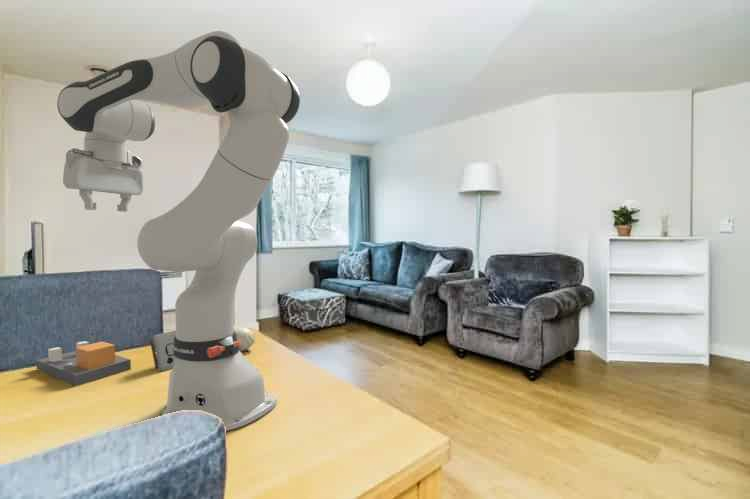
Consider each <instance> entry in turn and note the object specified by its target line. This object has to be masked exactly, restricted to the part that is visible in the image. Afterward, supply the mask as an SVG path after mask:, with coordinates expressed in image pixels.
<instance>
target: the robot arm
mask: <svg viewBox="0 0 750 499" xmlns="http://www.w3.org/2000/svg"><path fill="white" fill-rule="evenodd" d="M57 98H58V99H57V103H56V105H57V111H58V113H59V115H60V117H61V118H62V119H63V121H64V122H66V124H67V125H68V126H69V127H71V129H72V130H74V131H75V132H85V135H84V138H83V146H84V147H83V149H84V150H83V149H80V148H77V147H73V148H72V149H69V150H67V152H65V162H64V166H63V172H62V173H63V175H62V182H63V183H62V184H63V185H64V187H65V188H66V189H71V190H79V196H80V198H81V200H82V201H83V203H84V204H83V205H84V206H83V207H84V210H87V211H88V210H89V211H96V209H97V202H94V201H93V198H92V196H93V192H97V193H98V192H99V193H107V194H117V195H119V198H120V199H121V201H120V202H119V204H117V205H116V208H117V209H116V210H117V211H118V212H124V213H126V212H128V206H129V203H130V202H131V199H132V196H141V195H142V194H143V192H144V172H143V171H142V169H141V168H143V167H144V161H143V159H141V158H140V157H138V155H137V156H136V155H135V154H134V153H132V152H131V151H130V150H128V142H127V141H132V142H144V141H146V140H148V139H149V138H150V137H151V136H152V135H153V134H154V133H155V128H156V119H155V116H154V112H153V111H152V109H151V107H150V106H149V105H148V104H145V103H144V102H142V101H143V100H145V101H151V102H157V103H158V102H159V103H162V104H167V105H171V106H176V107H180V108H188V109H189V108H190V109H193V108H198V107H202V106H206V105H209V104H210V105H211V107H212V108H213V110H214V111H215V112H216V113H227V115H228V119H229V126H228V128H227V129H228V130H227V131H226V133H225V136H224V137H223V139H222V141H221V143H220V145H219V147H218V149H217V150H216V152H215V154H214V156H213V159H212V160H211V161H210V162H211V163H210V164H209V166H208V168H207V169H206V171H205V173H204V174H203V177H202V179H201V180H200V181H199V183H198V184H197V185H196V186H195V188H194V189H192V191H191V192H190V193H189V194H188V195H186V197H184V199H183V200H182V201H180V202H179V203H177V204H176V205H175V206H174V207H172V208H171V209H170V210H168V211H167V212H164V213H163V214H161V215H158V216H156V217H154V218H152V219H150V220H148V221H146V222H145V223H144V225H143V226H142V227H141V229H140V231H139V233H138V236H137V241H136V243H137V251H138V254H139V256H140V258H141V260H142V261H143V262H144V263H145V265H146V266H147V267H149V268H150V269H152V270H154V271H155V270H157V271H164V272H171V273H172V272H173V273H183V272H191V271H195V273H194V277H193V278H192V281H191V283H190V284H189V285H188V286H187V287H186V289H185V290H183V291H182V292H181V293H179V295H178V296H177V298H176V301H175V305H174V306H175V330H176V336H175V337H174V343H173V349H174V356H175V357H176V359H175V363H174V366H173V368H171V371H170V372H169V377H168V378H169V379H168V391H167V403H166V407H165V409H164V410H163V411H162V414H161V416H162V415H164V414H168V413H172V412H176V411H181V410H202V411H205V412H208V413H211V414H214V415H216V416H218V417H220V418H221V419H222V421H223V422H224V425H225V427H226V431H225V432H227V431H232V430H234V429H238V428H241V427H244V426H246V425H249V423H252V422H254V421H256V420H257V419H259V418H261V417H262V416H264V415H266V414H267V413H268V412H270V411H271V410H273V409H274V407H275V406H276V405H277V403H278V402H277V397H276V396H274V395H272V394H271V393H269V392H266V390H265V383H264V378H263V375H262V373H261V372H260V371H259V368H258V367H257V366H254V365H253V364H252V363H251V362H250V361H249V360H248V358H246V356H244V354H243V353H242V351H239V350H240V346H239V345H242V344H243V343H241V344H239V342H241V341H243V339H241V340H238V339H237V336H236V333H235V331H234V312H235V309H234V308H235V307H234V305H235V294H236V291H237V288H238V284H239V281H240V278H241V275H242V272H243V270H244V268H245V266H246V265H247V264H248V262H249V261H250V260H251V259H252V258H253V257H254V255H255V254H256V252H257V249H258V235H257V232H256V230H255V229H254V228H253V226H251V224H249V223H248V222H245V221H242V220H241V219H242V218H245V217H246V216H247V217H248V216H249V215H250V214H251V213H253V212H254V211H255V210H256V208H257V207H258V205H259V203H260V201H261V200H262V198H263V196H264V195H265V192H266V191H267V189H268V187H269V185H270V184H271V183H272V182H271V181H272V180H273V178H274V176H275V175H276V172H277V170H278V168H279V167H280V164H281V162H282V160H283V157H284V154H285V151H286V149H287V146H288V144H289V143H288V142H289V140H290V131H289V127H288V126H287V124H288V123H290V122H291V121H292V120H293V119H294V118H295V116H296V115H297V113H298V110H299V107H300V104H301V103H300V102H301V96H300V91H299V89H298V87H297V86H296V84H295V83H294V82H293V80H292V79H290V77H289V76H287V74H285V73H283V72H281V71H279V69H277V68H276V67H275V66H273V65H272V64H270V63H269V62H268V61H267V60H266V59H265V58H264V57H262V56H260V55H258V54H257V53H255V52H254V51H251V50H249V49H247V48H245V47H243V46H242V44H241V43H240V42H239V41H238V39H237V38H236V37H234V36H233V35H232V34H230V33H229V32H226V31H222V30H215V31H211V32H208V33H205V34H202V35H200V36H197V37H196V38H193V39H191V40H189V41H188V42H185V43H184V44H183V45H181V46H180V47H178V48H176V49H175V50H173V51H171V52H168V53H166V54H162V55H158V56H155V57H150V58H145V59H136V60H131V61H128V62H125V63H123V64H120V65H119V66H116V67H114V68H112V69H110V70H107V71H105V72H103V73H101V74H99V75H97V76H95V77H93V78H90V79H88V80H84V81H75V82H72V83H70V84H68V85H67V86H65V87H64V88H63V89H62V90H61V91H60V93H59V94H58V97H57ZM139 100H141V101H139Z"/></svg>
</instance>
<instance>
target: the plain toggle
mask: <svg viewBox="0 0 750 499" xmlns="http://www.w3.org/2000/svg"><path fill="white" fill-rule="evenodd" d="M47 349H48V354H47V355H48V358H49V361H50V362H56V361H60V360H62V354H63V352H62V351H63V350H62V349H63V348H62V347H59V346H56V347H53V348H47Z"/></svg>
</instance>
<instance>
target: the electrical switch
mask: <svg viewBox="0 0 750 499" xmlns="http://www.w3.org/2000/svg"><path fill="white" fill-rule="evenodd" d="M175 336H176V329H174V330H170V331H166V332H163V333H159V334H154V335H153V337H152V338H150V339H149V341H150V342H149V343H150V346H151V347H150V348H151V353H152V358H153V364H154V367H155V369H158V370H159V372H160V371H161V372H163V371H166V370H170V369H172V368H173V366H174V363H175V359H176V357H175V356H174V349H173V343H174V337H175Z"/></svg>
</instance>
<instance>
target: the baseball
mask: <svg viewBox="0 0 750 499" xmlns="http://www.w3.org/2000/svg"><path fill="white" fill-rule="evenodd" d="M233 331H235V333H236V336H237V339H238V340H241V339H243V341H241V342H239V344H241V343H243V344H242V345H239V346H240V350H239V351H240V352H242V351H244V352H245V351H247V350H249V349H250V348H251V347H252V346H253V345H254V344H255V342H256V337H255V334H254V333H253V331H252V330H250V329H249V328H247V327H240V328H236V329H235V330H234V329H233Z"/></svg>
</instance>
